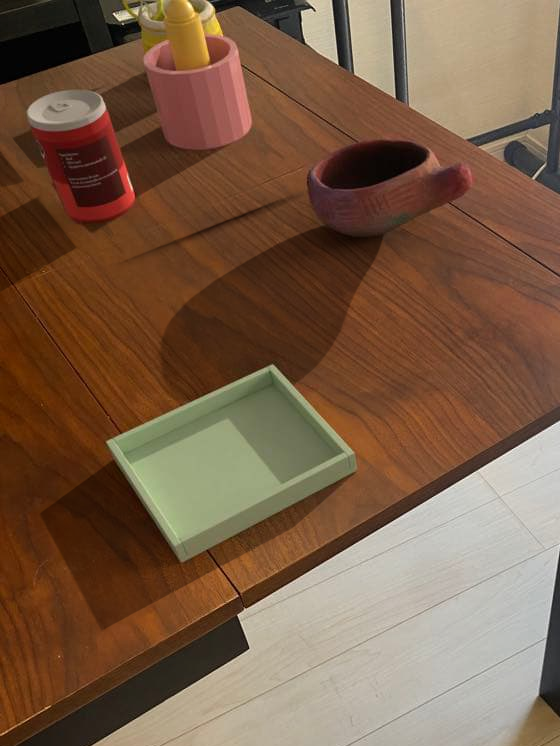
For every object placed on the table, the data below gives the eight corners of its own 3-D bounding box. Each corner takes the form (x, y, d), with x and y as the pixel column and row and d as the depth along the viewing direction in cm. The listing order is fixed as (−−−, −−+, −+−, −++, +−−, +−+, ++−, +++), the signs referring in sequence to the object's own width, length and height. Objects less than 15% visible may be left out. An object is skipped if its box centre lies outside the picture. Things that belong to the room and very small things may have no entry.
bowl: (312, 265, 83) (299, 189, 77) (315, 197, 91) (303, 123, 85) (473, 253, 83) (474, 175, 77) (462, 185, 91) (462, 110, 85)
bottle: (200, 138, 100) (167, 8, 89) (186, 126, 102) (152, -2, 91) (230, 128, 101) (201, -2, 90) (215, 116, 103) (185, -12, 92)
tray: (181, 563, 61) (173, 546, 59) (113, 458, 68) (105, 441, 66) (357, 470, 66) (354, 452, 64) (277, 381, 73) (272, 363, 71)
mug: (249, 71, 112) (229, -33, 102) (183, 102, 107) (156, -4, 98) (191, 48, 118) (167, -52, 108) (126, 76, 113) (96, -26, 104)
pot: (188, 163, 97) (166, 82, 90) (151, 130, 103) (128, 51, 96) (268, 134, 101) (253, 54, 94) (228, 103, 106) (211, 25, 99)
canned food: (96, 184, 96) (59, 84, 87) (152, 197, 93) (120, 95, 85) (51, 219, 92) (8, 117, 83) (108, 233, 89) (70, 129, 80)
